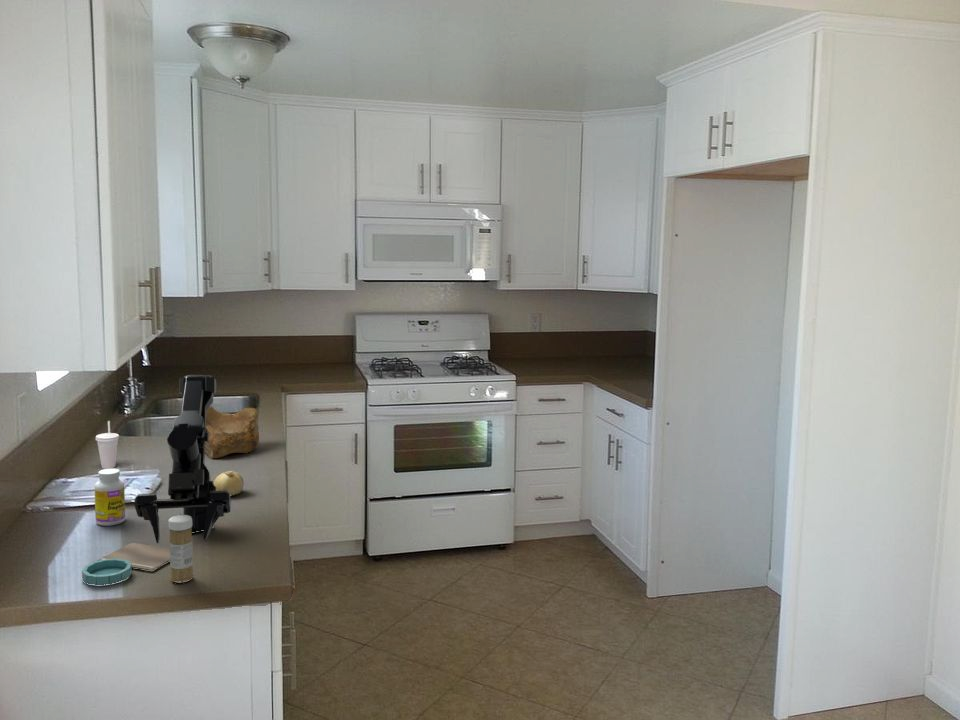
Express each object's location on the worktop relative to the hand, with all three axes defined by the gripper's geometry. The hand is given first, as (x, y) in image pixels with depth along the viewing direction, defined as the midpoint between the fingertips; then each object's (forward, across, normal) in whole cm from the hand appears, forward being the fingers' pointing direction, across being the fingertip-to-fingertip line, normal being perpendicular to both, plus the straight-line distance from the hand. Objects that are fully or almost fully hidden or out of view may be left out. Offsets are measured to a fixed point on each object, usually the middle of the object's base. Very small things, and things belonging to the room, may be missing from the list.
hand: (181, 541), depth 168 cm
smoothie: (-55, -30, +66) cm, 92 cm away
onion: (-33, +6, +45) cm, 56 cm away
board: (-3, -10, +15) cm, 18 cm away
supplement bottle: (-21, -21, +32) cm, 44 cm away
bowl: (+3, -15, +8) cm, 18 cm away
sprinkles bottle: (+6, 0, +6) cm, 8 cm away
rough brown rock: (-63, +2, +74) cm, 97 cm away
